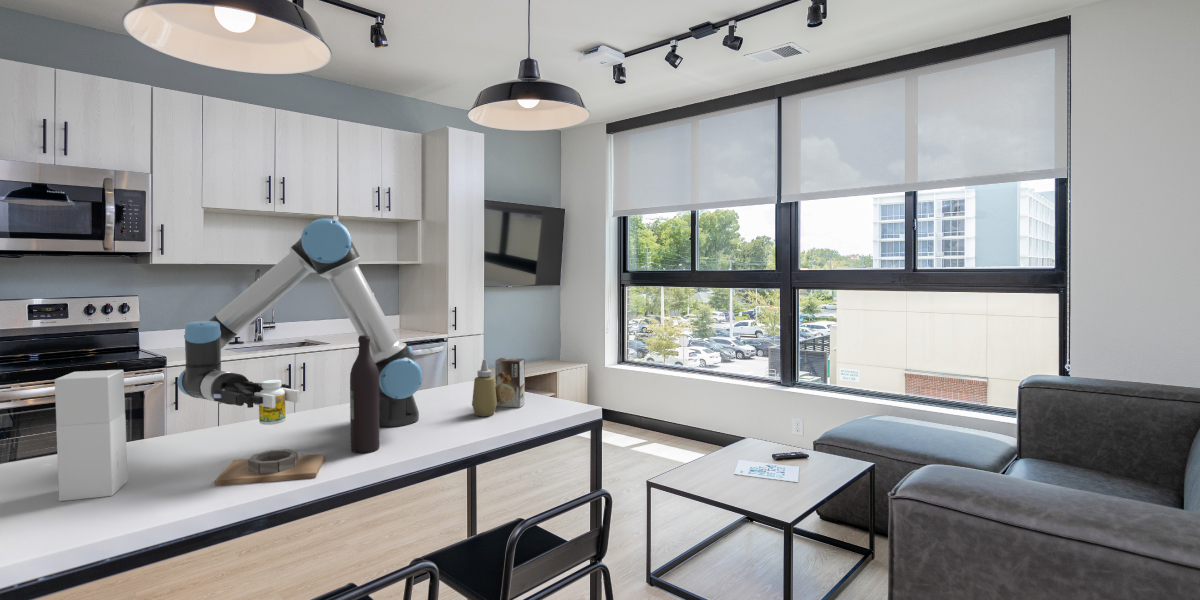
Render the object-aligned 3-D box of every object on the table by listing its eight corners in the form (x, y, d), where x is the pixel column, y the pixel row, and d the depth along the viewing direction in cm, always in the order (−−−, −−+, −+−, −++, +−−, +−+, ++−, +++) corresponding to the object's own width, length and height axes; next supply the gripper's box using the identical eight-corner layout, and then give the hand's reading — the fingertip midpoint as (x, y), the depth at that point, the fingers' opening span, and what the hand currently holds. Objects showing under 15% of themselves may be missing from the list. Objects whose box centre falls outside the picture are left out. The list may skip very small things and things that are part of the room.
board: (324, 458, 149) (324, 444, 149) (315, 477, 136) (315, 462, 135) (234, 464, 143) (233, 450, 143) (215, 486, 130) (214, 469, 129)
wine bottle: (366, 443, 161) (365, 333, 159) (385, 447, 158) (384, 335, 156) (344, 451, 155) (343, 336, 153) (364, 455, 152) (363, 338, 150)
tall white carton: (112, 496, 123) (108, 376, 122) (58, 501, 120) (53, 379, 118) (128, 481, 131) (124, 369, 130) (78, 486, 128) (73, 371, 127)
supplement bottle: (284, 417, 142) (283, 378, 142) (286, 423, 138) (286, 382, 137) (258, 420, 139) (257, 380, 139) (260, 426, 135) (259, 384, 134)
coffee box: (525, 403, 210) (525, 358, 209) (520, 407, 203) (520, 361, 202) (500, 402, 211) (500, 357, 210) (494, 406, 205) (494, 360, 204)
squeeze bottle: (494, 418, 190) (494, 362, 189) (469, 417, 190) (469, 361, 189) (499, 411, 198) (499, 357, 197) (474, 411, 198) (475, 357, 197)
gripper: (262, 395, 155) (322, 407, 144) (186, 410, 139) (246, 424, 128) (262, 367, 154) (321, 376, 144) (185, 378, 138) (246, 390, 127)
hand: (286, 399), depth 136 cm, fingers closed on supplement bottle, 5 cm apart
